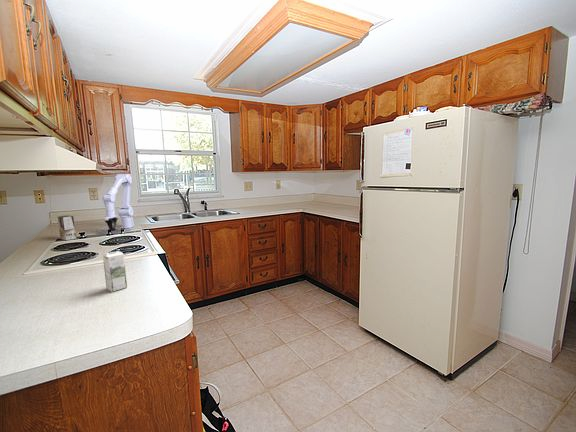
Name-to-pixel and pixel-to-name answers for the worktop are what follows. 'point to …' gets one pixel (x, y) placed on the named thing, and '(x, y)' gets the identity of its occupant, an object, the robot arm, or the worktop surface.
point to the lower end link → (119, 231)
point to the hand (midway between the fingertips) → (112, 228)
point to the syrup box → (115, 271)
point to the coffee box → (66, 227)
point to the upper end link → (107, 230)
